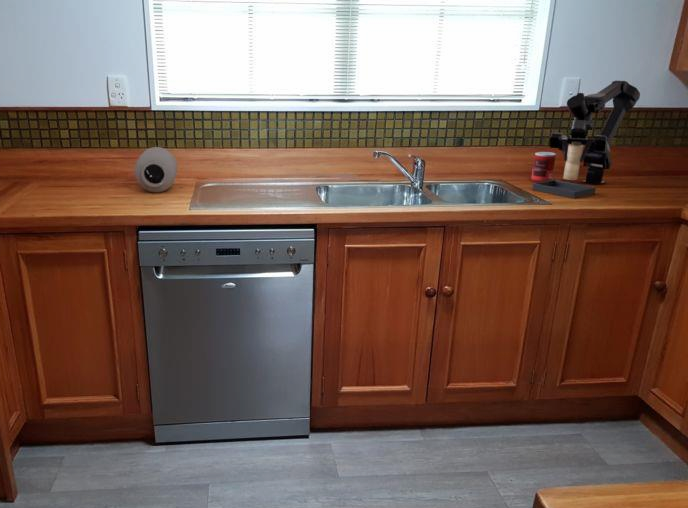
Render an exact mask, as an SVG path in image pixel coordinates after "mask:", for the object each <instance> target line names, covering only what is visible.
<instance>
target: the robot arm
mask: <svg viewBox="0 0 688 508" xmlns="http://www.w3.org/2000/svg"><path fill="white" fill-rule="evenodd" d="M640 97H641V92H640V91H639V89H638V88H637V87H636V86H634V85H631V83H629V82H628V81H626V80H617V79H616V80H612V82H611V83H610V84H609V85H607V86H605V87H604V88H602V89H601V90H600V91H598V92H596V93H591V94H587V95H585V93H583V92H577V94H576V95H573V96H571V97H570V98H568V99H567V101H566V106H567V109H568V111H569V113H570V115H571V117H572V118H573V119H574V120H572V125H571V128H570V131H569V136H570V137H569V136H567V135H563V133H562V132H551V133H550V136H549V144H548V146H549V148H550V149H558V150H559V151H561V152H562V155H563V160H564V162H566V158H567V153H568V147H569V144H572V142H582V143H581V145H583V146H584V147H583V151H582V156H581V160H580V163H582V162H583V165H582V166H583V167H587V171H586V177H585V179H584V180H582V181H581V183H583V184H589V185H595V186H598V185H602V184H606V181H603V178H604V172H605V170H609V169H610V168H611V166H612V163H613V162H612V160H611V157H610V155H611V148H610V145H611V143H612V141H613V139H614V137H615V135H616V133H617V131H618V129H619V127H620V125H621V123H622V121H623V118H624V117H625V115H626V113H627V112H629V111H630V110H631V109H633V108H634V107H635V106H636V104H637V102H638V101H639V100H640ZM610 101H612V105H613V107H612V109H611V112H610V113H609V116H608V117H607V119H606V121H605V123H604V125H603V127H602V129H601V131H600V133H599V134H598V135H597V134H595V135H594V139H591V138H588V136H589V132H590V131H593V130H594V126H595V119H593V114H600V113H601V112H602V111H603V110H604V109H605V108H606V104H607V103H608V102H610Z"/></svg>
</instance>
